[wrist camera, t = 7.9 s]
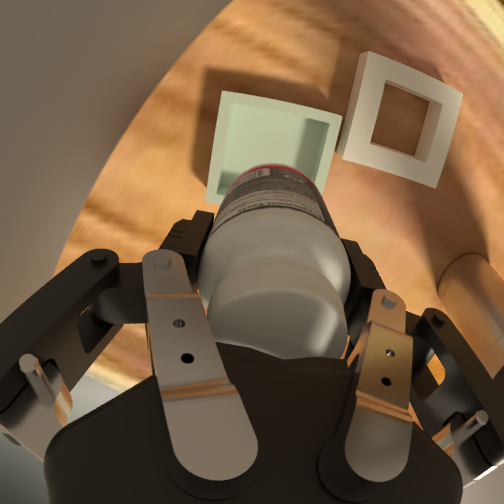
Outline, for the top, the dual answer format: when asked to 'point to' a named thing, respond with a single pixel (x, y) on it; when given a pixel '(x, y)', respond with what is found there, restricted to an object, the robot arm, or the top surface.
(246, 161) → the parts tray
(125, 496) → the robot arm
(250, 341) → the pill bottle
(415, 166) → the socket block
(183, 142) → the top surface
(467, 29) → the top surface
